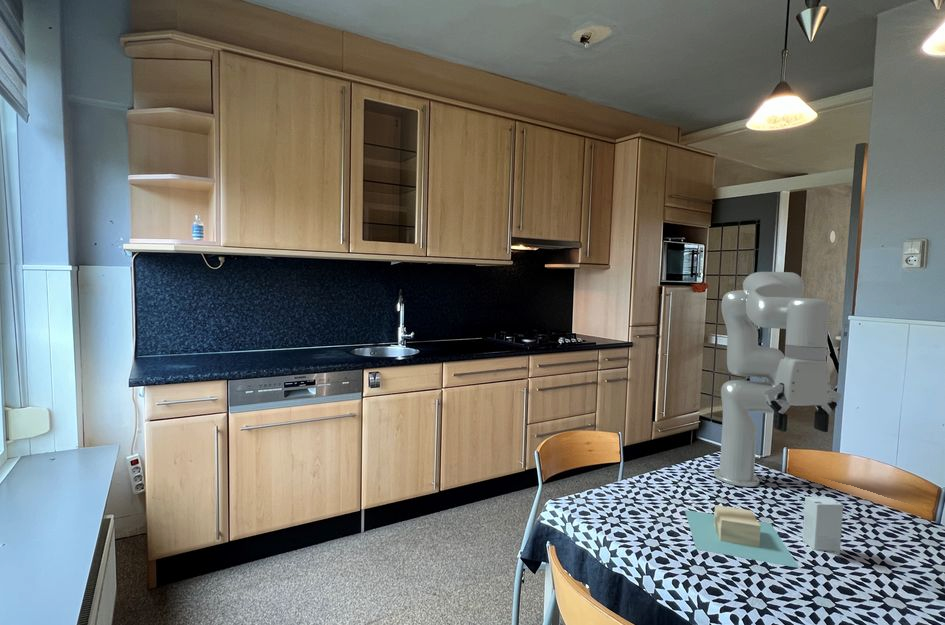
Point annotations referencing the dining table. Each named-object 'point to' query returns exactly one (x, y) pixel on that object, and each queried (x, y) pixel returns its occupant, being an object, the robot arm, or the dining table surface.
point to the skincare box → (823, 523)
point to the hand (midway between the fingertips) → (800, 430)
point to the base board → (766, 552)
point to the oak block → (737, 526)
